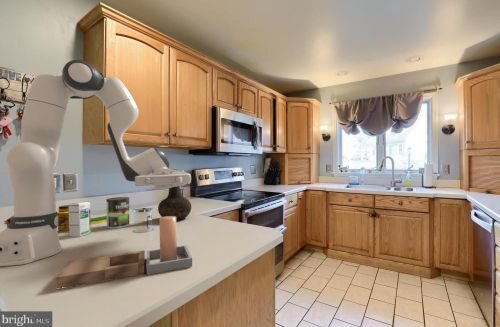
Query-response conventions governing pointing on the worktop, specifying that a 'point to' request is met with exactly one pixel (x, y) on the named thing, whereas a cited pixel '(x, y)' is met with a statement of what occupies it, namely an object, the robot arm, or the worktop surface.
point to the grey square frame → (168, 264)
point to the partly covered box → (101, 269)
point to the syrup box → (79, 219)
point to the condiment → (63, 219)
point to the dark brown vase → (174, 205)
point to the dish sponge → (98, 220)
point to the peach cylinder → (168, 239)
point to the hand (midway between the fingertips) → (165, 180)
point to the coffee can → (117, 212)
